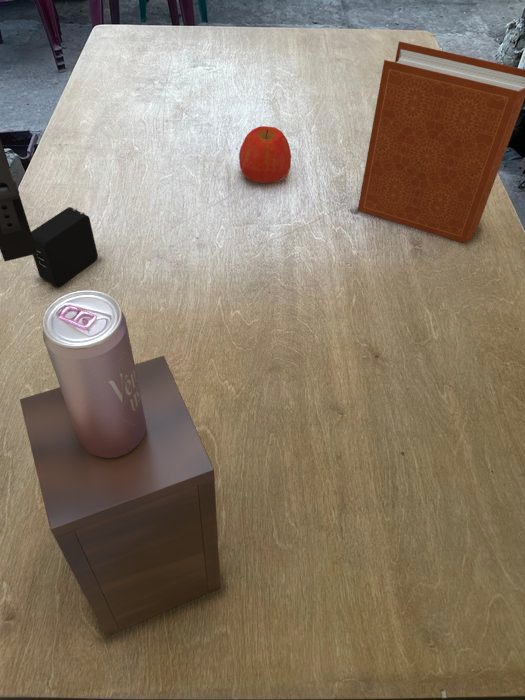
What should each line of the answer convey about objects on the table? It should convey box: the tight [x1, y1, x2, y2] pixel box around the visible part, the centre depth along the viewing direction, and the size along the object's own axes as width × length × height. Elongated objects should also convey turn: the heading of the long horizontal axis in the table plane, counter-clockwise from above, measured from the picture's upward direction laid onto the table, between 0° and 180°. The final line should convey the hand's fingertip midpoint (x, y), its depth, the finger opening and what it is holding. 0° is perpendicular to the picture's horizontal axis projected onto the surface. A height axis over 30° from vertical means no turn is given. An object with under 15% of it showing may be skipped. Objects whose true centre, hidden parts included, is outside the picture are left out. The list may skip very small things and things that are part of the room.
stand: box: [19, 355, 221, 637], centre depth 66 cm, size 14×14×28 cm
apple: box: [238, 125, 292, 184], centre depth 128 cm, size 11×11×11 cm
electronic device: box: [31, 206, 99, 288], centre depth 107 cm, size 4×10×10 cm, turn 145°
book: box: [357, 40, 525, 244], centre depth 113 cm, size 23×8×30 cm, turn 65°
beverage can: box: [41, 289, 146, 458], centre depth 50 cm, size 6×6×15 cm
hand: (7, 209), depth 56 cm, fingers open, 13 cm apart
